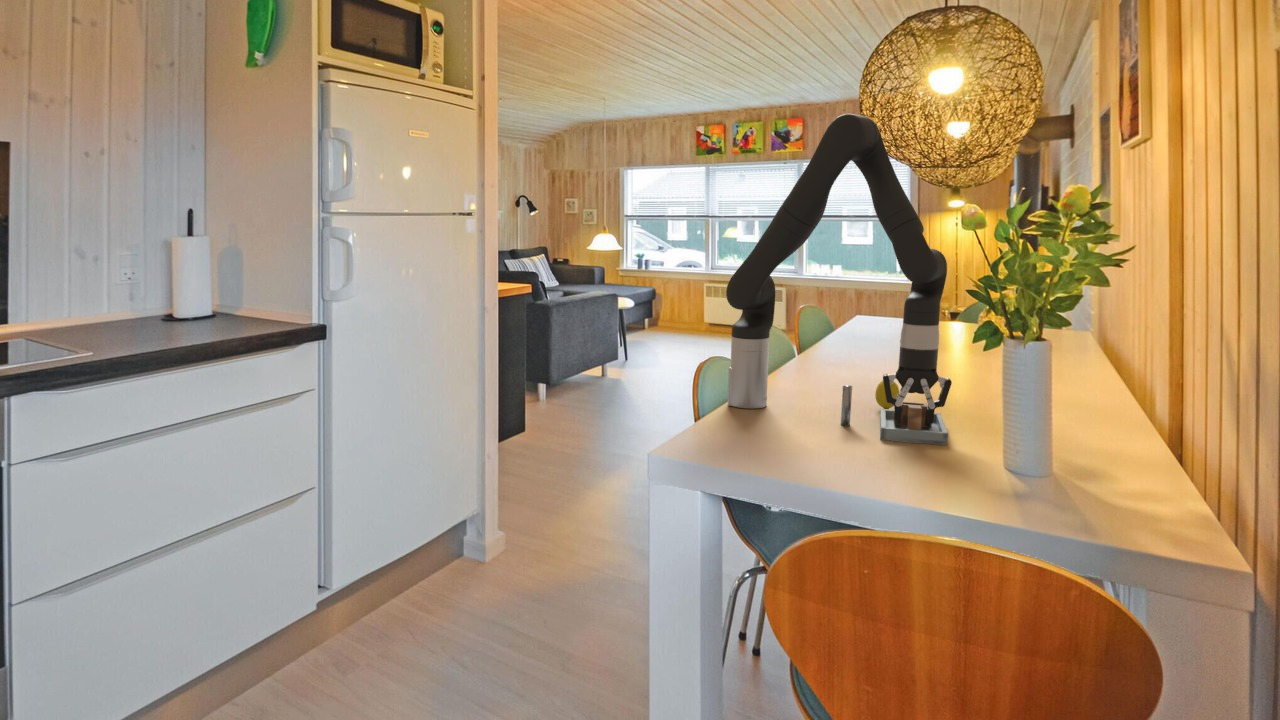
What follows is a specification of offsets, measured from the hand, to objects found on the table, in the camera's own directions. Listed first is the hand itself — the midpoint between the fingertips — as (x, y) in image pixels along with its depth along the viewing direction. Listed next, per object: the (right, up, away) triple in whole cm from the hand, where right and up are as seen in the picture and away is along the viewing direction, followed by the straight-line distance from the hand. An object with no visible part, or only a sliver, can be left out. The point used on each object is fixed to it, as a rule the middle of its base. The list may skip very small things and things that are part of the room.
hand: (913, 423), depth 157 cm
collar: (+1, -1, +3) cm, 3 cm away
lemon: (+2, +1, +24) cm, 24 cm away
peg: (-12, -1, +9) cm, 15 cm away
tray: (+1, -2, +4) cm, 5 cm away
